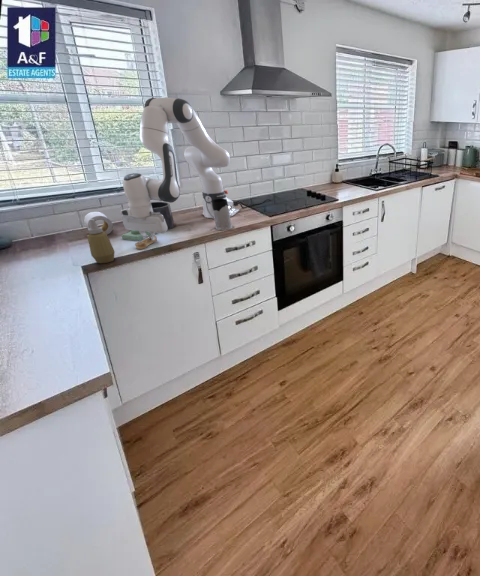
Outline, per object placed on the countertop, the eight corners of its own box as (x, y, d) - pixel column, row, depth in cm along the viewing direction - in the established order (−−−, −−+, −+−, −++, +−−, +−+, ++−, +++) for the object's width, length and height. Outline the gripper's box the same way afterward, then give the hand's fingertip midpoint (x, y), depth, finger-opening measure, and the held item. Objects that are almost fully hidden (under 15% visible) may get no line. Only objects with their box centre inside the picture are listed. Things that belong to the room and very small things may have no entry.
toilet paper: (115, 233, 187) (109, 214, 182) (91, 237, 180) (84, 217, 176) (111, 228, 193) (105, 210, 188) (87, 232, 186) (80, 213, 182)
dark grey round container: (156, 222, 205) (151, 200, 200) (180, 224, 203) (175, 202, 198) (136, 230, 192) (130, 207, 187) (162, 232, 190) (156, 209, 185)
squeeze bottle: (92, 266, 151) (77, 223, 143) (95, 259, 157) (81, 218, 149) (116, 263, 154) (102, 221, 146) (118, 256, 161) (105, 216, 153)
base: (141, 231, 190) (138, 224, 189) (156, 233, 189) (154, 225, 187) (122, 239, 180) (120, 231, 178) (138, 240, 179) (136, 232, 177)
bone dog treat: (151, 240, 178) (150, 235, 177) (159, 241, 178) (158, 236, 177) (133, 248, 168) (132, 243, 167) (142, 249, 168) (141, 244, 167)
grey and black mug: (224, 231, 196) (219, 203, 189) (204, 227, 200) (198, 199, 194) (236, 226, 203) (231, 199, 196) (216, 223, 208) (211, 196, 201)
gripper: (166, 211, 169) (173, 239, 175) (127, 207, 172) (135, 235, 178) (157, 214, 164) (164, 243, 170) (116, 211, 166) (125, 240, 173)
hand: (149, 239), depth 174 cm, fingers closed on bone dog treat, 2 cm apart
